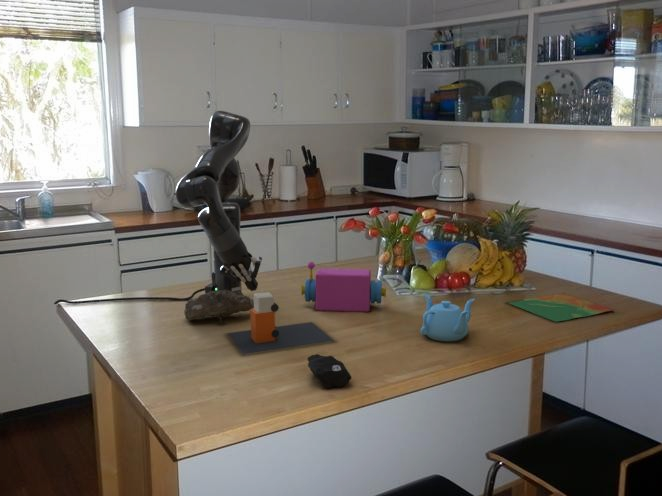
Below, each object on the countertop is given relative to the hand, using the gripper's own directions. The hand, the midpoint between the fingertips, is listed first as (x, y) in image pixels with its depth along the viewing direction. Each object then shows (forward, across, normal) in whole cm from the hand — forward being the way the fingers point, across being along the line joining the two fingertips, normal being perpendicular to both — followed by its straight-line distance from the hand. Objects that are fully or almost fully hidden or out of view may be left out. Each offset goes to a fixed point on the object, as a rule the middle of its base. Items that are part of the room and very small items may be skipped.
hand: (254, 288), depth 183 cm
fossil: (+16, +21, -8) cm, 27 cm away
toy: (+35, -10, -25) cm, 44 cm away
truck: (+14, +2, +6) cm, 15 cm away
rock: (+9, -23, +29) cm, 38 cm away
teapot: (+35, -46, -4) cm, 57 cm away
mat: (+16, -2, +4) cm, 17 cm away
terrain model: (+60, -76, -34) cm, 103 cm away
